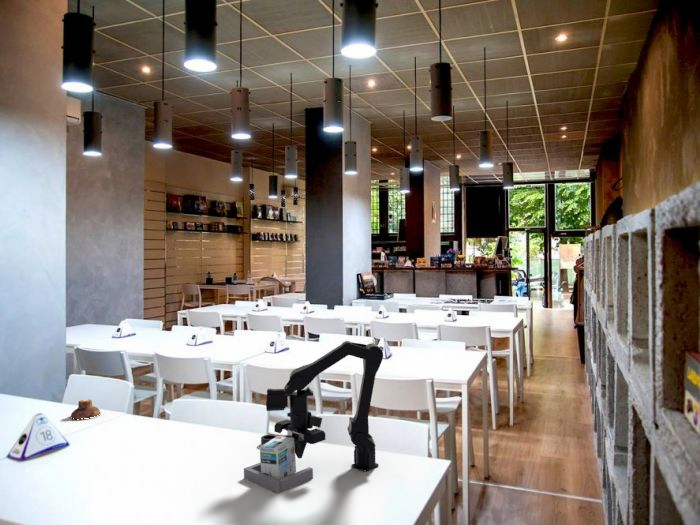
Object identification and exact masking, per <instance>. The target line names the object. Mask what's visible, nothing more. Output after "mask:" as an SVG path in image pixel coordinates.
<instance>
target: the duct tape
mask: <svg viewBox="0 0 700 525" xmlns="http://www.w3.org/2000/svg"><path fill="white" fill-rule="evenodd" d="M277 436H278V435H275V434H264V435H262V436H261V437H260V446H262V445H264V444H265V443H267V442H269V441H270V440H272V439H273V438H275V437H277Z"/></svg>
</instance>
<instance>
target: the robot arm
mask: <svg viewBox="0 0 700 525" xmlns="http://www.w3.org/2000/svg"><path fill="white" fill-rule="evenodd" d="M348 356H352V357H356V358H359V359H362V364H363V365H362V366H363V370H362V371H363V372H362V378H361V384H360V390H359V393H358V394H359V395H358V400H357V406H356V412H355V414H354V417H351V416H349V420H348V422H349V423H348V426H347V429H346V430H347V432H348V435H349V437H350V440H351V442H352V444H353V445H355V446H354V450H353V463H352V464H351V467H353V468H355V469H358V470H360V471H364V472H368V471H371V470H372V469H376V468H377V467H379V463H377V462H376V443H375V441H374V438H373V436H372V435H371V434H370V431H369V429H370V428H369V415H370V408H371V402H372V396H373V391H374V388H375V387H374V386H375V380H376V375H377V373H378V371H379V369H380V367H381V363H382V361H383V359H384V352H383V349H382V348H380V346H379V345H377V344H376V343H371V342H370V343H367V344H365V343H364V344H363V343H359V342H358V343H357V342H352V341H349V340H344V341H343V342H342V343H340V345H338V346H336V347H335V348H333V349H331V350H330V351H328V352H326V354H324V355H322V356H321V357H318V359H316V360H314V361H313V362H310V363H308V364H305V365H302V366H299V367H298V368H295V369H293V370H292V371H291V372H290V374H289V380H288V381H287V382H286V384H284V387H283V388H267V390H266V401H265V407H266V408H265V409H266V412H270V411H272V412H276V411H277V412H278V411H285V410H286V409H287V407H289V412H287V413H286V416H287V417H289V419H284V420H280V421H277V422H275V424H274V433H278V434H282V432H283V430H285V431H286V432H287V434H286V435H285V437H288V438H294V442H295V457H297V458H298V459H302V458H303V456H304V453H305V449H306V446H307V444H310V445H315V444H317V443H320V442H323V441H326V432H325V431H324V430H322V429H319V428H321V427H322V426H321V425H322V423H323V422H322V421H323V417H320V416H316V415H313V414H312V412H311V411H309V403H308V402H309V398H308V397H313V396H314V391H313V390H312V389H311V388H310V387H309V386H308V385H310V384H311V382H312V381H314V380H315V379H316V377H317V376H318V375H320V374H321V373H323V372H325V370H328V369H329V368H330V367H332V366H334V365H335V364H337V363H338V362H340V361H341V360H343V359H345V358H346V357H348ZM288 402H289V403H288ZM313 427H317V428H314V429H313Z"/></svg>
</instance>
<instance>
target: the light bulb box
mask: <svg viewBox="0 0 700 525" xmlns="http://www.w3.org/2000/svg"><path fill="white" fill-rule="evenodd" d="M276 436H277V437H275V438H273V439H272V440H270V441H269V442H267V443H265V444H264V445H262V446H261V445H260V446H259V457H260V458H259V459H260V462H261V473H263V474H265V475H268V476H270V477H272V478H275V479H277V480H279V479H281V478H284V477H286V476H289V475H291V474H294V473H296V472H297V463H296V462H297V460H296V454H295V442H294V438H288V437H286V436H279V435H276ZM260 462H259V463H260Z"/></svg>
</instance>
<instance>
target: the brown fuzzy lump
mask: <svg viewBox="0 0 700 525" xmlns="http://www.w3.org/2000/svg"><path fill="white" fill-rule="evenodd" d="M99 414H100V415H101V410H100V409H99V407H97V406H94V405H93V401H92V399H90V398H89V399H87V400H83V399H81V400H78V407H77V408H76V409H74V410H73V411H72V412H71V413H70V418H71V417H72V418H74V419H81V418H90V417H94V416H97V415H99ZM100 415H99V416H100Z"/></svg>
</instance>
